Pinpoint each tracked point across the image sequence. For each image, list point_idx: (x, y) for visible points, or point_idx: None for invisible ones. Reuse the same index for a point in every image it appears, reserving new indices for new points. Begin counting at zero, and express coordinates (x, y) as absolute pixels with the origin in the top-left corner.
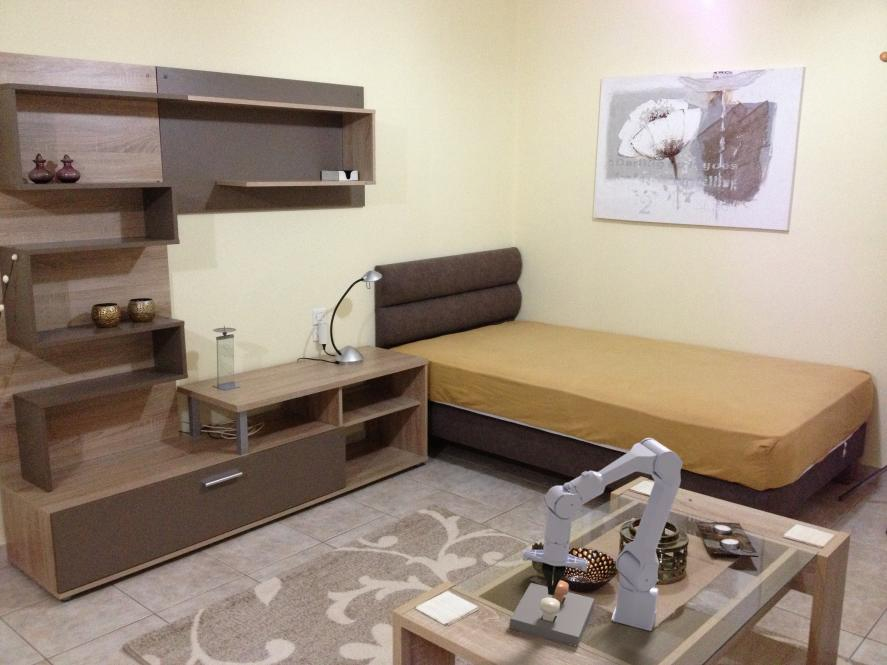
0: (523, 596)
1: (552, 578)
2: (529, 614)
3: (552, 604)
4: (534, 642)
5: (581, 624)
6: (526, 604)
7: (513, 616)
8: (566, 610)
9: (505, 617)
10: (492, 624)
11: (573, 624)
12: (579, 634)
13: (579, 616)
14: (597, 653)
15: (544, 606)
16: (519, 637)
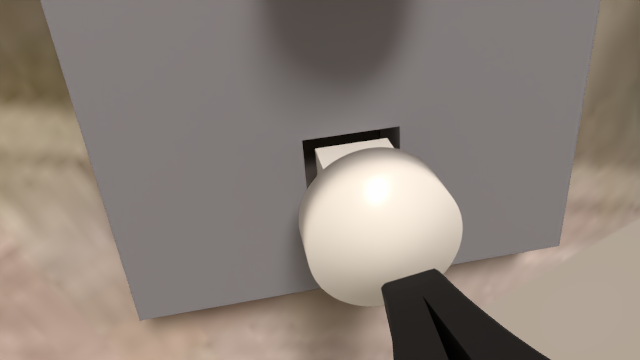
0: (48, 14)
1: (445, 353)
2: (223, 216)
3: (407, 256)
4: (319, 298)
5: (566, 123)
6: (141, 118)
7: (144, 292)
8: (446, 14)
9: (58, 199)
10: (42, 299)
11: (517, 152)
12: (561, 223)
13: (547, 38)
14: (623, 200)
15: (356, 301)
16: (234, 307)
